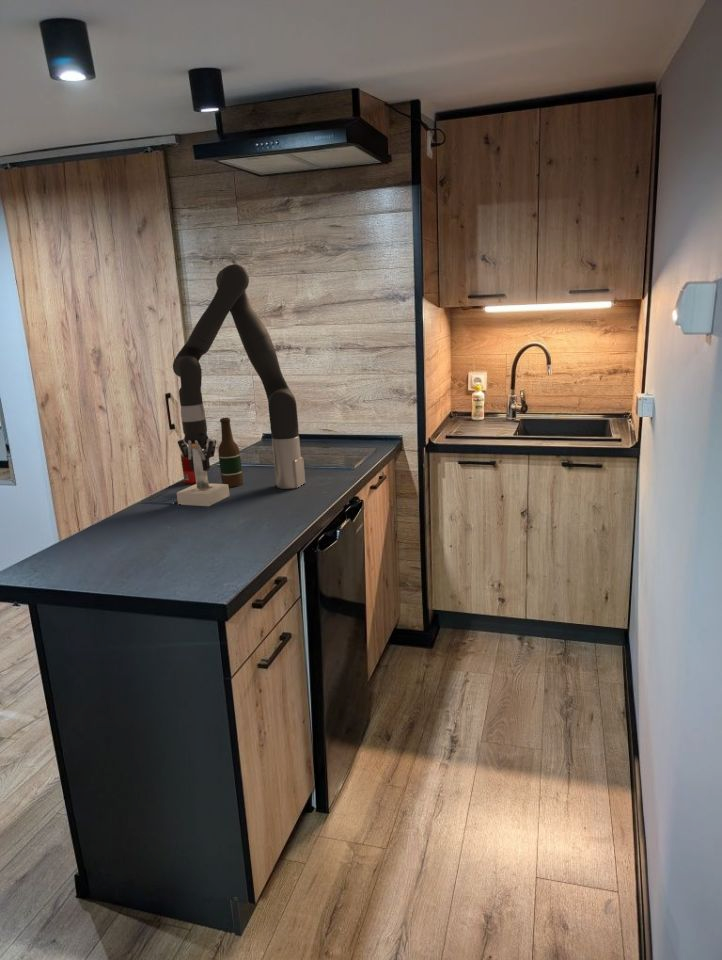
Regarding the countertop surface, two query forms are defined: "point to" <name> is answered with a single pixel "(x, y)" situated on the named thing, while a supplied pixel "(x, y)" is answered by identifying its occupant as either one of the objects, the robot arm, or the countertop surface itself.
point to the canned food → (187, 471)
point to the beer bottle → (229, 457)
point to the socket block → (203, 495)
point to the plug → (199, 469)
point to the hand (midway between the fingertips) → (200, 470)
